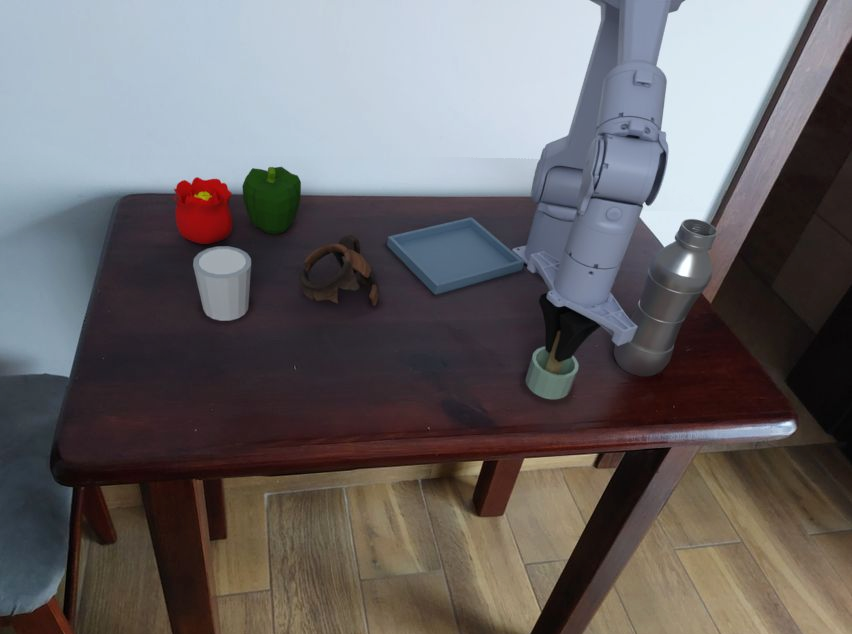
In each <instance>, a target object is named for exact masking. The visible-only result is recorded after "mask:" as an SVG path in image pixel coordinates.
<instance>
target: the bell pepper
mask: <svg viewBox="0 0 852 634" xmlns="http://www.w3.org/2000/svg"><path fill="white" fill-rule="evenodd" d="M241 187H242V198H243V199H242V200H243V202H244V206H245V210H246V213H247V217H248V219H249V221H250V222H251V224H252V225H253V226H255V227H256V228H259V229H260V230H261V231H263V232H264V233H266V234H274V235H277V234H282V233H283V234H284V233H285V232H287V230H288V229H289V228H290V227H291V226H292V224H293V222H294V220H295V219H296V216H297V213H298V211H299V207H300V204H301V195H302V193H301V191H302V183H301V180H300V177H299V176H298V174H294V173H291V171H289V170H288V169H286V168H284V167H283V166H276V167H274V166H268V167H267V170H266V169H261V168H253V167H252V168H251V169H250V170H249V172H248V173H247V175H246V177H245V178H244V180H243V183H242V186H241Z"/></svg>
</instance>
